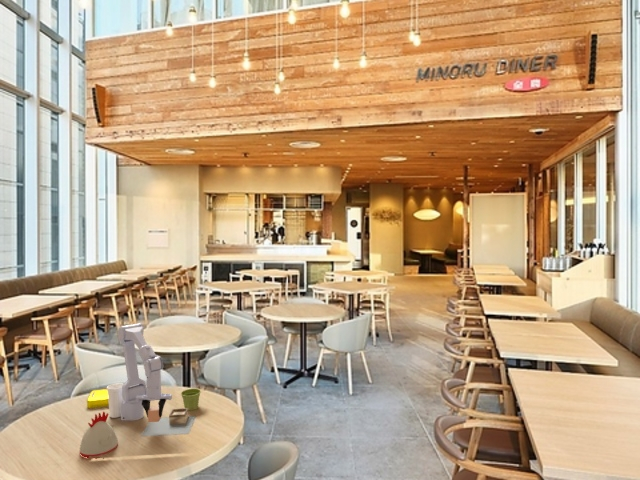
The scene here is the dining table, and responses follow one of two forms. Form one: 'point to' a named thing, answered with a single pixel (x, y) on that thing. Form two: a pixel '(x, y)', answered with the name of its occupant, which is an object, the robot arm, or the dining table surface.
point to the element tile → (98, 399)
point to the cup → (115, 399)
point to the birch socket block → (178, 416)
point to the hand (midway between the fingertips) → (154, 416)
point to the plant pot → (191, 398)
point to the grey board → (168, 427)
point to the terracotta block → (153, 414)
